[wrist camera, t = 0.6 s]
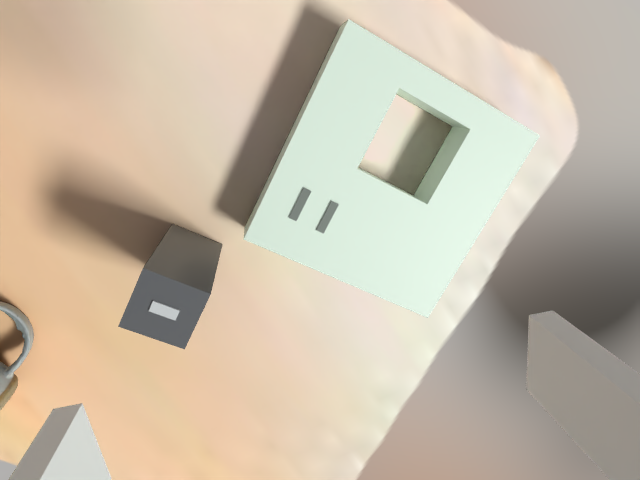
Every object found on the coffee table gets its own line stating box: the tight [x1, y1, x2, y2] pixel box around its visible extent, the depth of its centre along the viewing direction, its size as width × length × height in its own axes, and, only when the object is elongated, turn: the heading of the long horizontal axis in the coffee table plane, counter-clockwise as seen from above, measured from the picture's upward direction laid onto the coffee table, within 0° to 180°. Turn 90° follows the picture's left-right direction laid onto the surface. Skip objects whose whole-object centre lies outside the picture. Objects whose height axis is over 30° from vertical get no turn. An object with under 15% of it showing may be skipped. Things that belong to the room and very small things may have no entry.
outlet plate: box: [244, 19, 540, 318], centre depth 32 cm, size 16×16×3 cm
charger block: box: [118, 224, 222, 349], centre depth 29 cm, size 4×4×9 cm
